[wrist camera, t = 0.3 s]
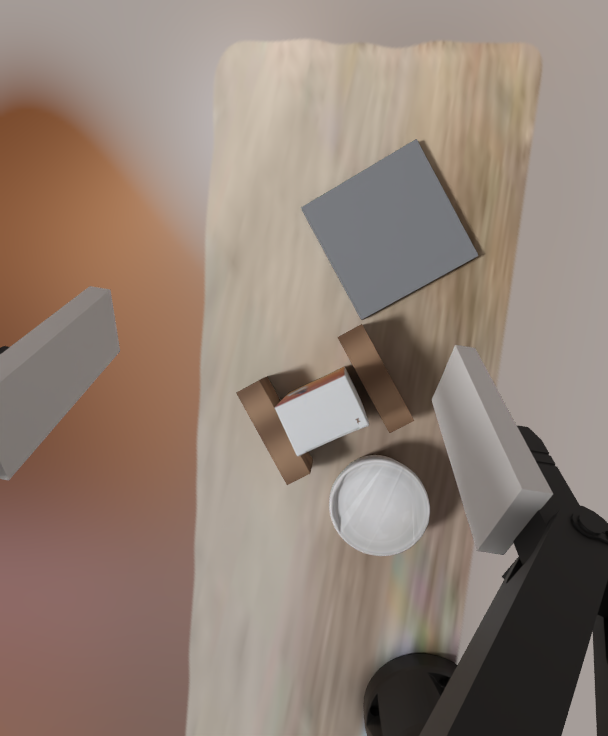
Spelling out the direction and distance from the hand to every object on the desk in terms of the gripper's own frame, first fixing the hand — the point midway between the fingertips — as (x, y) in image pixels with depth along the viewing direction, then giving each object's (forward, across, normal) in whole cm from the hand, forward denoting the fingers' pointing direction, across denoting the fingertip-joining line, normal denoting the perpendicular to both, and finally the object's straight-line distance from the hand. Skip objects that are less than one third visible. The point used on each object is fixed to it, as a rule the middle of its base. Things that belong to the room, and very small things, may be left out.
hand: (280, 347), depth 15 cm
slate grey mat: (+35, -9, +4) cm, 36 cm away
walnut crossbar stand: (+25, -5, +22) cm, 34 cm away
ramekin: (+19, -13, +31) cm, 39 cm away
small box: (+25, -5, +22) cm, 34 cm away
